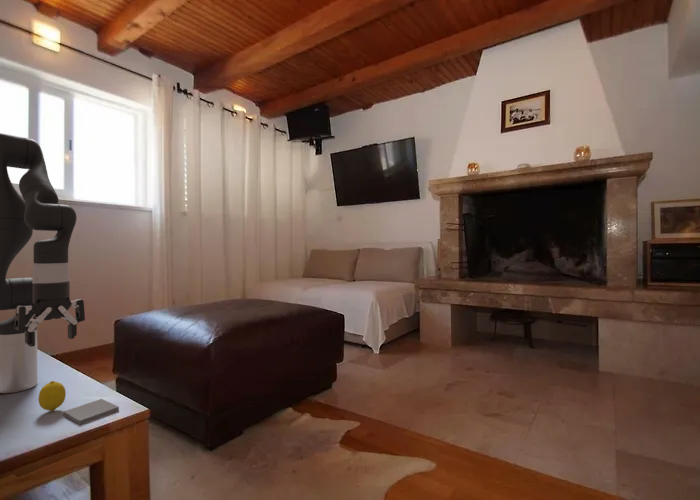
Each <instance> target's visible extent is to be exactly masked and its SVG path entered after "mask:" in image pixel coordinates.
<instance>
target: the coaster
mask: <svg viewBox="0 0 700 500" xmlns="http://www.w3.org/2000/svg"><path fill="white" fill-rule="evenodd" d="M119 410H120V407H119V406H118V405H116V404H114V403H112V402H110V401H107V400H106V399H103V398H100V399H97V400H94V401H91V402H87V403H84V404H82V405H80V406H79V405H78V406H75V407H72V408H69V409H67V410H64V411H62V415H63V417H66V418H67V419H69V420H71V421H73V422H74V423H76V424H77V425H79V426H80V425H83V424H87V423H89V422H91V421H94V420H96V419H99V418H102V417H104V416H107V415H111V414H113V413H115V412H119Z"/></svg>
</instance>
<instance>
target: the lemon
mask: <svg viewBox="0 0 700 500" xmlns="http://www.w3.org/2000/svg"><path fill="white" fill-rule="evenodd" d="M65 400H66V388H65V386H64V385H63V383H61V382H59V381H54V380H51V381H49V382H47V383H46V384H45V385H43V387H41V389H40V390H39V394H38V400H37V401H38V405H39V407H40V408H42V409H43V410H45V411H49V412H55V410H56V409H57V408H59V407H61V406H62V405H63V403H64V402H65Z"/></svg>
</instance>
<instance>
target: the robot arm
mask: <svg viewBox="0 0 700 500" xmlns="http://www.w3.org/2000/svg"><path fill="white" fill-rule="evenodd" d="M40 145H41V144H40V143H38V142H37V141H36V140H34V139H32V138H28V137H23V136H19V135H13V134H7V133H2V132H0V311H8V310H15V315H14V316H12V317H10V318H7V319H5V320H2V321H0V394H11V393H18V392H22V391H26V390H29V389H32V388H34V387H35V386H37V385H38V326H39V325H40V324H41V323H42V322H43V321H50V320H52V319H55V320H57V319H58V320H59V319H61V318H63V319H64V320H65V321H66V322H67V323H68V324H67V338H68V339H69V340H73V339H75V337H77V335H78V334H77V333H78V331H77V330H78V326H77V325H78V324H79V323H80V322H84V321H85V320H86V315H85V312H86V311H85V303H84V302H85V300H83V299H80V298H76V299H75V300H71V298H70V296H71V295H70V290H71V288H70V285H71V284H70V281H71V280H70V279H71V274H70V271H71V270H70V267H69V248H70V247H69V246H70V242H71V238H72V234H73V232H74V229H75V226H76V225H77V224H76V223H77V217H78V216H77V213H76V211H75V209H74V208H73V207H71V205H67V204H59V196H58V194H57V192H56V190H55V188H54V186H53V184H52V183H51V181H50V179H49V175H48V169H47V165H46V164H47V163H46V161H45V158H44V157H45V156H44V154H43V151H42V148H41V146H40ZM8 168H14V169H21V170H22V169H24V170H28V171H26V172H25V173H24V174H23V175H21V178H20V179H19V181H18V188H19V192H20V194H19V192H18V190H17V189H16V188H15V186H14V184H13V183H12V181H11V178H10V176H9V175H10V174H9V172H8ZM33 230H34V231H41V232H43V231H46V232H47V231H48V232H49V231H50V232H56V234H55V235H54V236H53V237H52V238H48V239H42V240H41V239H40V240H37V241H35V242H34V244H33V250H32V251H33V266H32V275H31V276H32V277H15V278H14V277H12V278H11V277H10V278H7V273H8V270H9V268H10V266H11V264H12V263H13V260H15V258H16V257H17V255H18V254H19V253H20V252H22V250H23V248H24V247H25V246H26V245H27V244H28V242H30V239H31V238H32V236H33V232H34V231H33ZM71 307H72V308H74V311H75V317H73V315H72V313H70V312H69V310H70V308H71Z"/></svg>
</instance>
